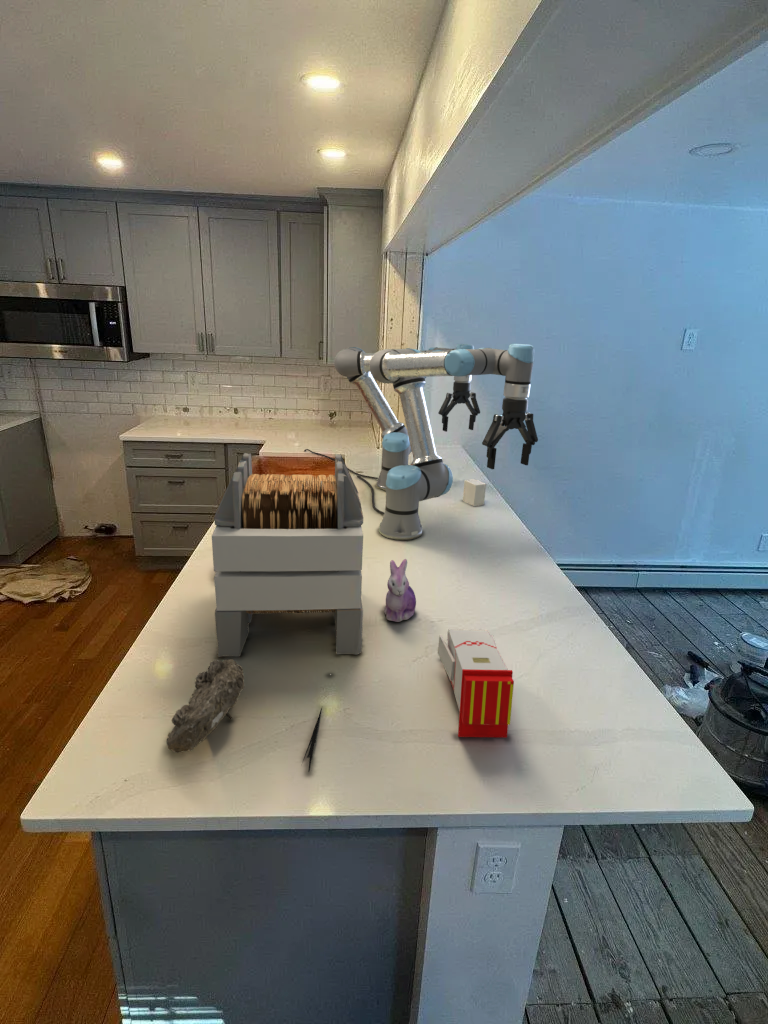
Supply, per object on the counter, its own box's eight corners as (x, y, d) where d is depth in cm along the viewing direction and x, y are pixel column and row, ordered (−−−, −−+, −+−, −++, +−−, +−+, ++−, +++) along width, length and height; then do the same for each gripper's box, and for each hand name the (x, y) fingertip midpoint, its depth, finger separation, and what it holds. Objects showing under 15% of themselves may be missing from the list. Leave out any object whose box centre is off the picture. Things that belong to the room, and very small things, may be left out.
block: (473, 506, 232) (475, 485, 229) (462, 500, 238) (464, 480, 235) (483, 504, 234) (486, 483, 231) (472, 499, 240) (474, 478, 237)
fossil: (192, 660, 117) (244, 628, 112) (224, 691, 120) (276, 661, 115) (142, 746, 98) (202, 712, 93) (182, 779, 101) (242, 748, 96)
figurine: (392, 627, 141) (395, 572, 136) (374, 608, 149) (376, 556, 144) (425, 619, 145) (429, 566, 140) (405, 601, 154) (408, 550, 149)
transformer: (236, 587, 157) (228, 443, 143) (353, 586, 161) (357, 445, 147) (215, 659, 125) (203, 483, 111) (362, 655, 129) (368, 484, 115)
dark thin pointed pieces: (331, 679, 122) (336, 673, 122) (307, 777, 96) (313, 769, 95) (324, 675, 122) (329, 669, 121) (298, 772, 95) (304, 764, 95)
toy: (488, 613, 130) (523, 677, 101) (484, 667, 133) (517, 744, 104) (435, 612, 130) (455, 676, 101) (432, 666, 133) (451, 743, 103)
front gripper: (491, 401, 161) (483, 473, 168) (555, 398, 173) (545, 465, 180) (474, 397, 167) (468, 466, 175) (538, 394, 179) (529, 459, 186)
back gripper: (441, 383, 236) (437, 433, 243) (491, 382, 246) (486, 430, 254) (432, 380, 242) (429, 429, 250) (481, 380, 253) (476, 427, 260)
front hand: (507, 466), depth 177 cm, fingers open, 13 cm apart
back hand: (458, 430), depth 252 cm, fingers open, 13 cm apart
